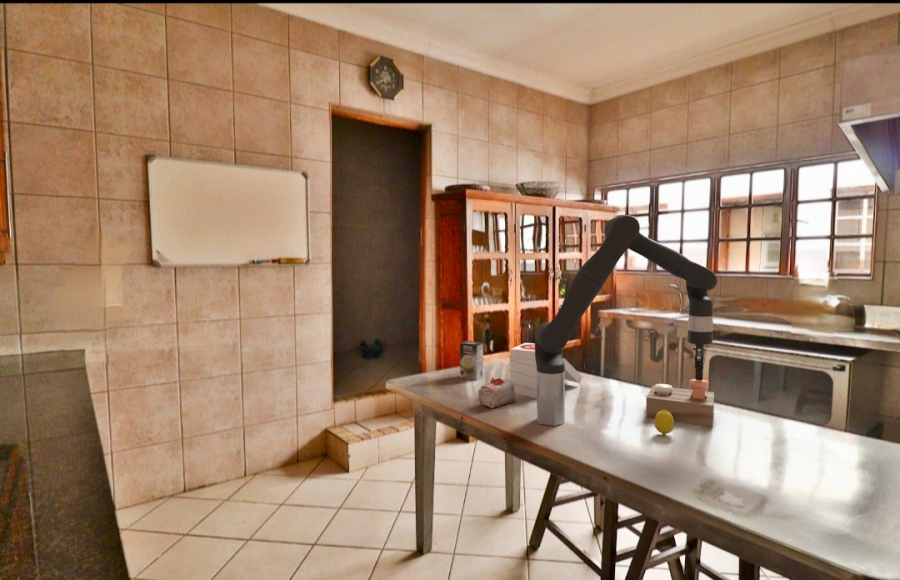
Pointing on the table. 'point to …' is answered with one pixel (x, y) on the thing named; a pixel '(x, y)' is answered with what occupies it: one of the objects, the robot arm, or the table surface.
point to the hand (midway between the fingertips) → (699, 379)
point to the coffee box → (471, 360)
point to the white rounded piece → (663, 389)
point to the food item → (497, 393)
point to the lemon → (664, 422)
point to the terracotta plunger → (698, 388)
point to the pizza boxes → (531, 370)
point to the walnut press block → (682, 406)
